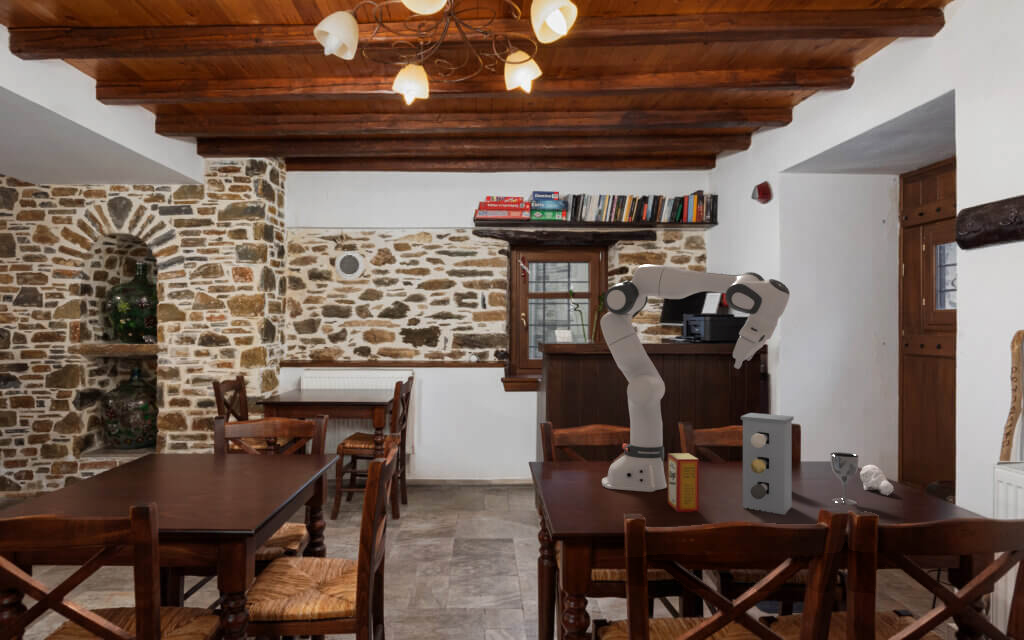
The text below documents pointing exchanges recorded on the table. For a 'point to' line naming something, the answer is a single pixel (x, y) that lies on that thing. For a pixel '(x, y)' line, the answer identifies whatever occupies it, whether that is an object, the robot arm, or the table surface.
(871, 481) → the white lumpy piece
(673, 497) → the baking soda box
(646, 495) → the table surface
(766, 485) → the plunger low
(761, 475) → the grey toy cabinet
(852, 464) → the wine glass
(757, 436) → the plunger top
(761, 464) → the plunger mid
